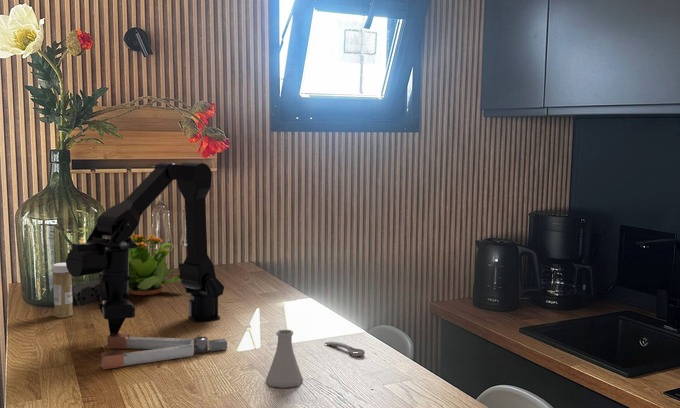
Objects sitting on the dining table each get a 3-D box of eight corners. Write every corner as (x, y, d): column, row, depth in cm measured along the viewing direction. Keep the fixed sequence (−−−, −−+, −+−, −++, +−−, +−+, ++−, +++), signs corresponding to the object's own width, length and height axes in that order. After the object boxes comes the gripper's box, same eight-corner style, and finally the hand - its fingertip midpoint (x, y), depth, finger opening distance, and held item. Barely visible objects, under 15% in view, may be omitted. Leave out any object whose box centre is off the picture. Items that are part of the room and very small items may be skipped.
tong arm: (210, 347, 147) (210, 335, 146) (205, 353, 143) (205, 341, 142) (112, 344, 148) (111, 332, 147) (104, 350, 143) (104, 337, 143)
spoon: (358, 360, 142) (357, 350, 142) (321, 349, 151) (321, 341, 151) (368, 357, 144) (367, 348, 144) (331, 346, 153) (331, 338, 153)
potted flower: (202, 285, 204) (202, 229, 202) (170, 305, 181) (169, 242, 179) (126, 280, 208) (125, 225, 206) (85, 299, 185) (83, 237, 183)
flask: (266, 375, 132) (266, 326, 131) (302, 374, 132) (303, 326, 131) (265, 389, 125) (265, 337, 124) (303, 389, 125) (304, 337, 124)
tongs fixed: (224, 346, 148) (224, 335, 147) (229, 351, 144) (229, 339, 144) (100, 363, 136) (100, 351, 135) (103, 369, 132) (102, 356, 132)
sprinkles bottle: (74, 316, 169) (73, 264, 167) (55, 319, 166) (54, 266, 165) (71, 312, 172) (69, 261, 171) (52, 314, 170) (50, 263, 168)
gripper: (72, 261, 151) (71, 327, 153) (79, 281, 134) (78, 355, 136) (123, 259, 156) (121, 323, 158) (136, 279, 139) (134, 350, 141)
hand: (113, 337), depth 148 cm, fingers closed
